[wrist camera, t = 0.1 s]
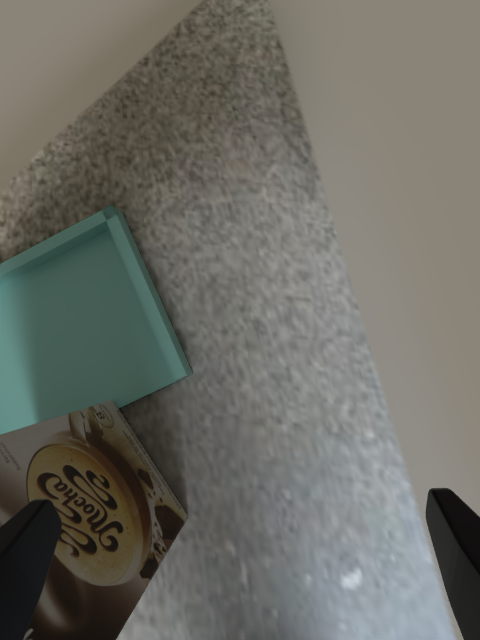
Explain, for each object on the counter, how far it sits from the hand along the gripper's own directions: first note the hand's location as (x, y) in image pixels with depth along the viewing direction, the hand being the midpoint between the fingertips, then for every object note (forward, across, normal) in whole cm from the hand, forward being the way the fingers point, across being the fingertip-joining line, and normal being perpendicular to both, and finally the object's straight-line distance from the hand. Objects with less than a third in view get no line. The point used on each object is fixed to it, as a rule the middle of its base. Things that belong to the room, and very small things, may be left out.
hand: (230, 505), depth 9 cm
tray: (+16, +14, +3) cm, 21 cm away
